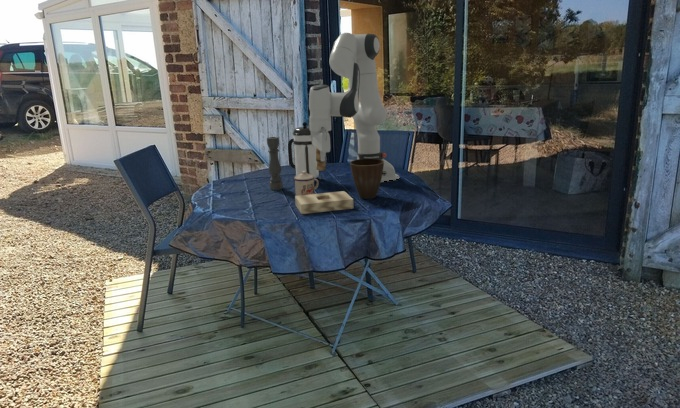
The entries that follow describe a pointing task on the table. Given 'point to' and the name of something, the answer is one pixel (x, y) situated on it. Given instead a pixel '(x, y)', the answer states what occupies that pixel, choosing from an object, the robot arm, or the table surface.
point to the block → (323, 202)
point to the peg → (320, 163)
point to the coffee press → (303, 152)
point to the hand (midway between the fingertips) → (321, 159)
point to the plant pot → (367, 176)
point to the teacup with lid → (305, 184)
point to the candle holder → (274, 163)
